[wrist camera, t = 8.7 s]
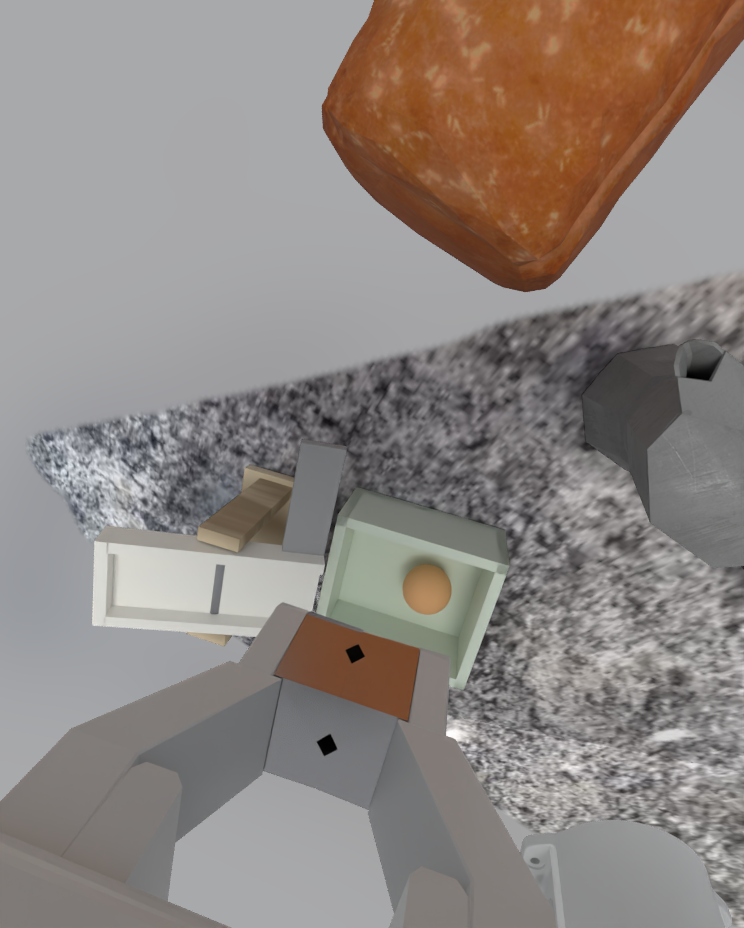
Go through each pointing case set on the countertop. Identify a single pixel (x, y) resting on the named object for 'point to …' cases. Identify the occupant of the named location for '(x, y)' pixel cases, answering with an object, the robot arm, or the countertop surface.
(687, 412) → the coffeepot
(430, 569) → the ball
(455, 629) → the bin
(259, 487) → the lever base
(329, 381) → the countertop surface
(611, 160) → the bread
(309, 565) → the lever
